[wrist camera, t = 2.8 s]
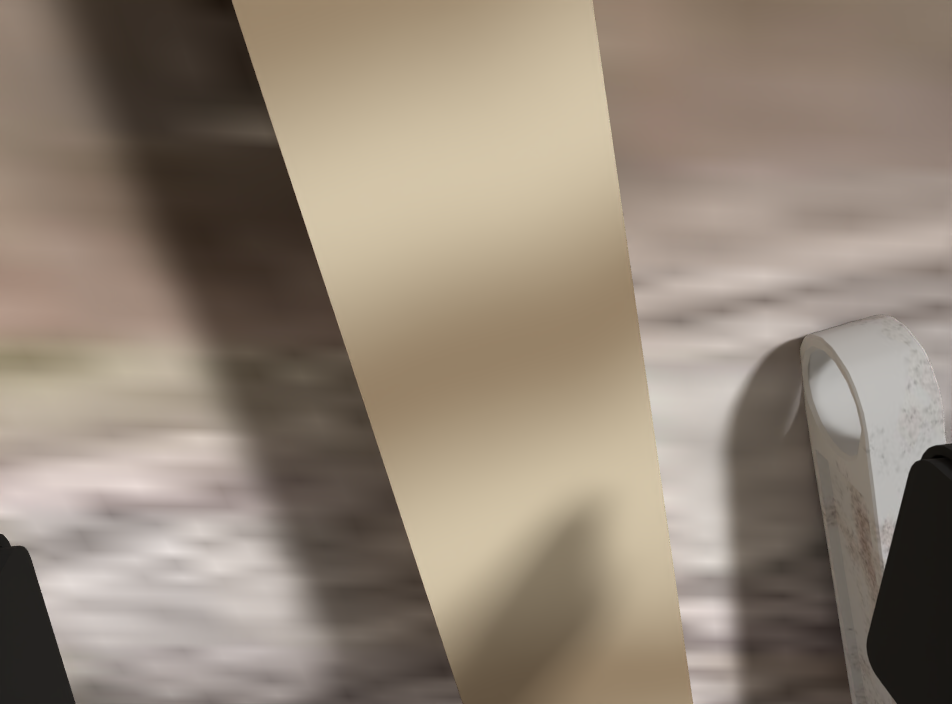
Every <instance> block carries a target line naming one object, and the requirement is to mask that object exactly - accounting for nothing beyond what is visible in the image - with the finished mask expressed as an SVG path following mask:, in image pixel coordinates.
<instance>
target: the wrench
mask: <svg viewBox="0 0 952 704" xmlns="http://www.w3.org/2000/svg"><path fill="white" fill-rule="evenodd" d="M800 356H801V367H802V377H803V387H804V398H805V408H806V416H807V422H808V428H809V435H810V442H811V448H812V455H813V461H814V467H815V473H816V479H817V485H818V491H819V497H820V503H821V509H822V516H823V522H824V528H825V534H826V540H827V546H828V552H829V558H830V565H831V571H832V577H833V584H834V590H835V597H836V603H837V610H838V616H839V623H840V629H841V635H842V642H843V648H844V655H845V661H846V668H847V674H848V681H849V687H850V693H851V700H852V704H897V703H896V702H895V701H894V699H893V698H892V697H891V695H890V694H889V692H888V691H887V690H886V688H885V687H884V686H883V684H882V683H881V682H880V680H879V679H878V678H877V676H876V675H875V673H874V671H873V670H872V667H871V665H870V663H869V659H868V655H867V648H866V643H867V636H868V632H869V628H870V624H871V620H872V616H873V613H874V609H875V605H876V601H877V597H878V593H879V589H880V585H881V581H882V577H883V573H884V569H885V565H886V561H887V557H888V553H889V549H890V545H891V541H892V537H893V533H894V529H895V525H896V521H897V517H898V513H899V510H900V506H901V502H902V498H903V494H904V490H905V486H906V482H907V478H908V474H909V471H910V469H911V466H912V465H913V464H914V463H915V462H916V461H919V460H921V458H922V455H923V453H924V452H925V451H926V450H927V449H928V448H929V447H932V446H935V445H942V444H946V439H945V428H944V412H943V405H942V399H941V393H940V389H939V386H938V382H937V379H936V376H935V373H934V370H933V367H932V365H931V363H930V361H929V359H928V357H927V354H926V352H925V350H924V349H923V347H922V346H921V345H920V343H919V342H918V341H917V340H916V338H915V337H914V336H913V334H912V333H911V332H910V331H909V329H908V328H907V327H906V326H904V325H903V324H902V323H900V322H899V321H898V320H896V319H895V318H893V317H891V316H887V315H874V316H871V317H867V318H864V319H860V320H857V321H853V322H850V323H847V324H843V325H840V326H836V327H833V328H829V329H826V330H823V331H819V332H816V333H812V334H809V335H806V337H805V338H804V340H803V342H802V345H801V347H800Z"/></svg>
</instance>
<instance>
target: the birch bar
mask: <svg viewBox="0 0 952 704" xmlns="http://www.w3.org/2000/svg"><path fill="white" fill-rule="evenodd" d="M232 3H233V6H234V9H235V12H236V15H237V18H238V21H239V24H240V27H241V30H242V33H243V36H244V39H245V43H246V46H247V49H248V52H249V55H250V58H251V61H252V64H253V67H254V70H255V73H256V76H257V79H258V82H259V85H260V88H261V91H262V94H263V97H264V100H265V103H266V106H267V109H268V113H269V116H270V119H271V122H272V125H273V128H274V131H275V134H276V137H277V140H278V143H279V146H280V149H281V152H282V155H283V158H284V161H285V164H286V167H287V170H288V173H289V176H290V180H291V183H292V186H293V189H294V192H295V195H296V198H297V201H298V204H299V207H300V210H301V213H302V216H303V219H304V222H305V225H306V228H307V231H308V234H309V237H310V240H311V243H312V246H313V250H314V253H315V256H316V259H317V262H318V265H319V268H320V271H321V274H322V277H323V280H324V283H325V286H326V289H327V292H328V295H329V298H330V301H331V304H332V307H333V310H334V313H335V317H336V320H337V323H338V326H339V329H340V332H341V335H342V338H343V341H344V344H345V347H346V350H347V353H348V356H349V359H350V362H351V365H352V368H353V371H354V374H355V377H356V380H357V383H358V387H359V390H360V393H361V396H362V399H363V402H364V405H365V408H366V411H367V414H368V417H369V420H370V423H371V426H372V429H373V432H374V435H375V438H376V441H377V444H378V447H379V450H380V454H381V457H382V460H383V463H384V466H385V469H386V472H387V475H388V478H389V481H390V484H391V487H392V490H393V493H394V496H395V499H396V502H397V505H398V508H399V511H400V514H401V517H402V520H403V524H404V527H405V530H406V533H407V536H408V539H409V542H410V545H411V548H412V551H413V554H414V557H415V560H416V563H417V566H418V569H419V572H420V575H421V578H422V581H423V584H424V587H425V591H426V594H427V597H428V600H429V603H430V606H431V609H432V612H433V615H434V618H435V621H436V624H437V627H438V630H439V633H440V636H441V639H442V642H443V645H444V648H445V651H446V654H447V657H448V661H449V664H450V667H451V670H452V673H453V676H454V679H455V682H456V685H457V688H458V691H459V694H460V697H461V700H462V703H463V704H693V700H692V693H691V686H690V679H689V672H688V665H687V658H686V651H685V644H684V637H683V630H682V623H681V616H680V609H679V602H678V595H677V588H676V581H675V574H674V567H673V560H672V553H671V546H670V539H669V533H668V526H667V519H666V512H665V505H664V498H663V491H662V484H661V477H660V470H659V463H658V456H657V449H656V442H655V435H654V428H653V421H652V414H651V407H650V400H649V393H648V386H647V379H646V372H645V365H644V358H643V351H642V344H641V337H640V330H639V323H638V316H637V309H636V302H635V295H634V288H633V281H632V274H631V267H630V260H629V253H628V247H627V240H626V233H625V226H624V219H623V212H622V205H621V198H620V191H619V184H618V177H617V170H616V163H615V156H614V149H613V142H612V135H611V128H610V121H609V114H608V107H607V100H606V93H605V86H604V79H603V72H602V65H601V58H600V51H599V44H598V37H597V30H596V23H595V16H594V9H593V2H592V0H232Z"/></svg>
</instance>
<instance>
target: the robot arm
mask: <svg viewBox="0 0 952 704" xmlns="http://www.w3.org/2000/svg"><path fill="white" fill-rule="evenodd" d="M866 648H867V655H868V659H869V663H870V665H871V667H872V670H873V671H874V673H875V675H876V676H877V678H878V679H879V680H880V682H881V683H882V684H883V686H884V687H885V688H886V690H887V691H888V692H889V694H890V695H891V697H892V698H893V699H894V701H895V702H896V703H897V704H952V444H942V445H935V446H932V447H929V448H928V449H927V450H926V451H925V452H924V453H923V455H922V458H921V460H919V461H916V462H915V463H914V464H913V465H912V466H911V469H910V471H909V474H908V478H907V482H906V486H905V490H904V494H903V498H902V502H901V506H900V510H899V513H898V517H897V521H896V525H895V529H894V533H893V537H892V541H891V545H890V549H889V553H888V557H887V561H886V565H885V569H884V573H883V577H882V581H881V585H880V589H879V593H878V597H877V601H876V605H875V609H874V613H873V616H872V620H871V624H870V628H869V632H868V636H867V643H866ZM0 704H75V701H74V697H73V694H72V691H71V688H70V684H69V681H68V678H67V675H66V671H65V668H64V665H63V661H62V658H61V655H60V652H59V648H58V645H57V642H56V639H55V635H54V632H53V629H52V626H51V622H50V619H49V616H48V612H47V609H46V606H45V603H44V599H43V596H42V593H41V590H40V586H39V583H38V580H37V577H36V573H35V570H34V567H33V564H32V560H31V557H30V555H29V553H28V551H27V550H26V549H25V547H23V546H12V547H11V545H10V543H9V541H8V540H7V538H6V537H5V536H4V535H3V534H0Z"/></svg>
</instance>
